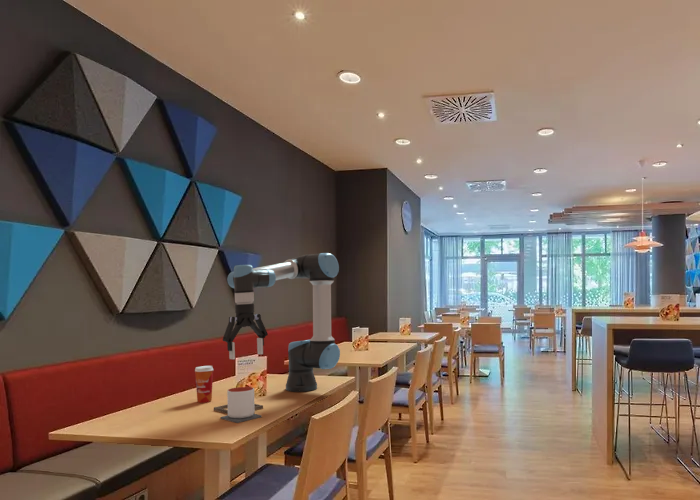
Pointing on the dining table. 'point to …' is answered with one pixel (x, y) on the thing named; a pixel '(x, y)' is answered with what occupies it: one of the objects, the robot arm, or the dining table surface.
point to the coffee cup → (204, 383)
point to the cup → (240, 402)
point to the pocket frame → (222, 408)
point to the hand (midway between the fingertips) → (246, 356)
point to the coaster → (241, 418)
